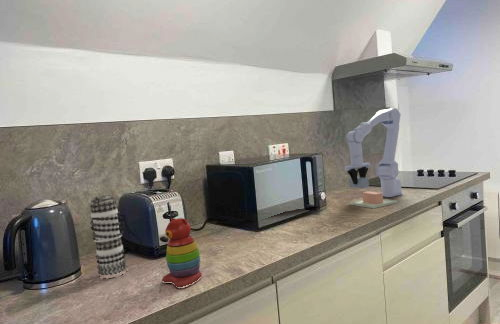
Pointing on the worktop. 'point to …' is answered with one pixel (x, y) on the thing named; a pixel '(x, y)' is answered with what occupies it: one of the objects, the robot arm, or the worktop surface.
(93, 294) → the worktop surface
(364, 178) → the slate brick
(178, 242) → the stacking bear
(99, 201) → the decorative candle
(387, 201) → the baseplate
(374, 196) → the coral brick
